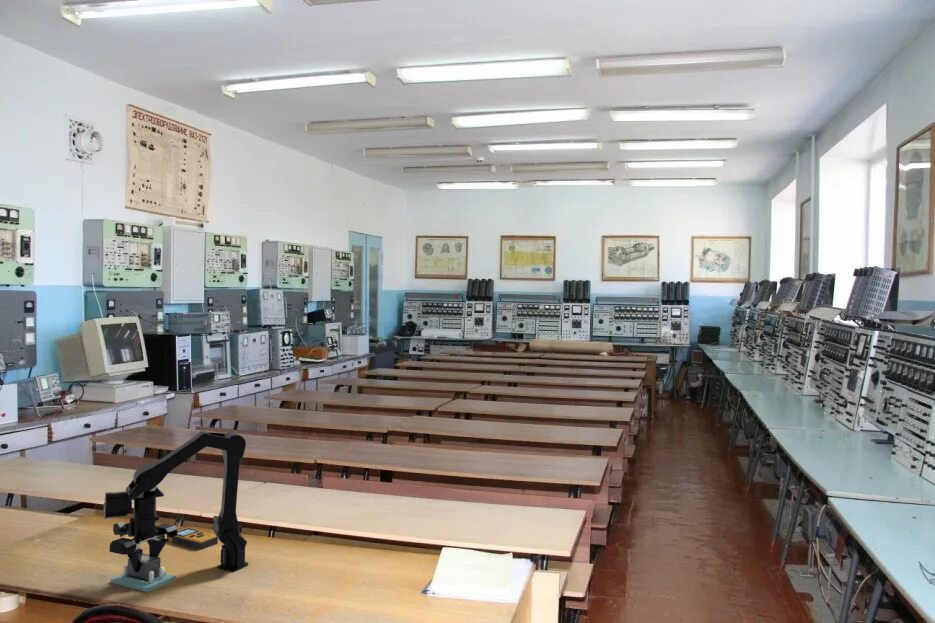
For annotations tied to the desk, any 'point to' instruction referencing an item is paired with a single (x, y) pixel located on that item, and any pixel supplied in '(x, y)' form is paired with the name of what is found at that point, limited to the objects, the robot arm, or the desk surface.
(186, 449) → the robot arm
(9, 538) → the desk surface
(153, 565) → the block
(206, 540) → the electronic device
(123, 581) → the teal fixture plate
